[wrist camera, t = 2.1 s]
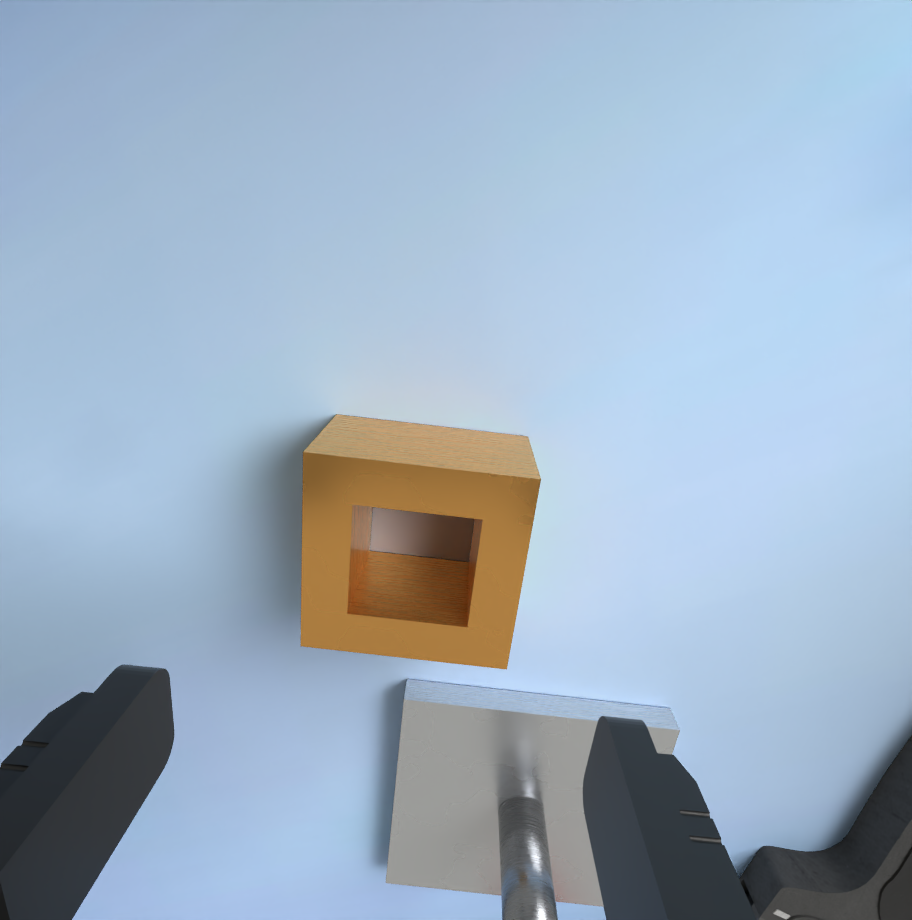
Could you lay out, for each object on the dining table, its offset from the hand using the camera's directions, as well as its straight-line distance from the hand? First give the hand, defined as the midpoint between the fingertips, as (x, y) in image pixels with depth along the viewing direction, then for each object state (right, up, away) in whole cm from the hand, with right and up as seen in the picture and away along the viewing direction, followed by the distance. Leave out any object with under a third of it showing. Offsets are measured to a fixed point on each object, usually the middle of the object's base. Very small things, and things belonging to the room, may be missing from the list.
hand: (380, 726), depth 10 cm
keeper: (+4, -8, +12) cm, 15 cm away
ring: (0, +3, +8) cm, 9 cm away
